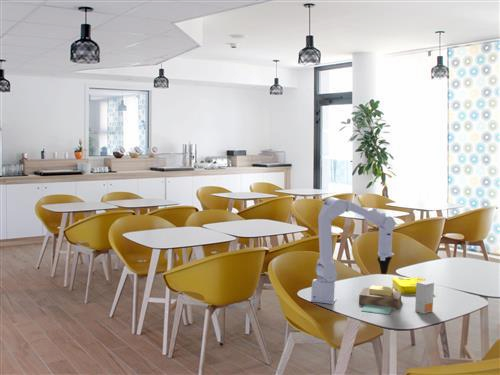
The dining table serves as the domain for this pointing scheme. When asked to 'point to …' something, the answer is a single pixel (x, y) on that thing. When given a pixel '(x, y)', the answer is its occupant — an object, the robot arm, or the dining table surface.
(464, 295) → the dining table surface
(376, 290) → the yellow block
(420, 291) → the skincare box
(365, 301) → the plate
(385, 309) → the mat
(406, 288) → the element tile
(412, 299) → the dining table surface
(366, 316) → the dining table surface
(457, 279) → the dining table surface
